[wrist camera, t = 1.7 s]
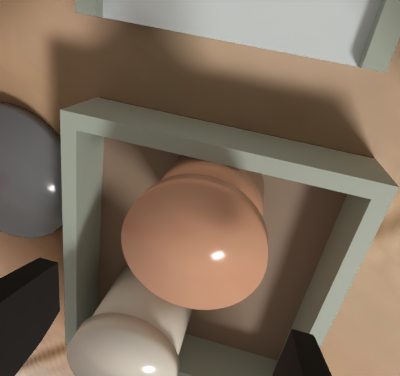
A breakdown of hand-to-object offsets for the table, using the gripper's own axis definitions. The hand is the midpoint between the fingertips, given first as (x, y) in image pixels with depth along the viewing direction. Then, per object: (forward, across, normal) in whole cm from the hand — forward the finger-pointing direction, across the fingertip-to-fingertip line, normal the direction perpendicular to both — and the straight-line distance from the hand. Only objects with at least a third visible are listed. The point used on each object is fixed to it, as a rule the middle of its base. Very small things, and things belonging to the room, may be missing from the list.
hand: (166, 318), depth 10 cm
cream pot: (+9, +2, +8) cm, 13 cm away
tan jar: (+9, 0, 0) cm, 9 cm away
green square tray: (+10, 0, +4) cm, 11 cm away
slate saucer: (+10, +13, +2) cm, 17 cm away
